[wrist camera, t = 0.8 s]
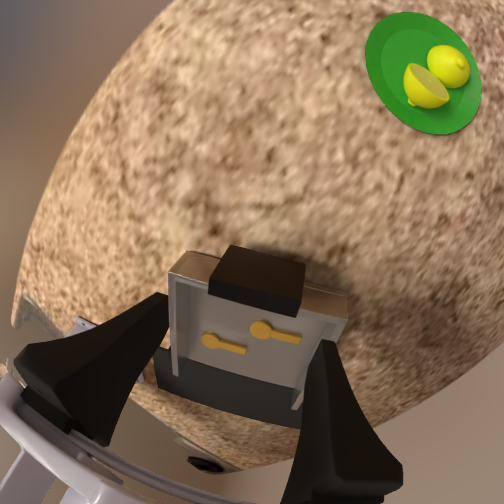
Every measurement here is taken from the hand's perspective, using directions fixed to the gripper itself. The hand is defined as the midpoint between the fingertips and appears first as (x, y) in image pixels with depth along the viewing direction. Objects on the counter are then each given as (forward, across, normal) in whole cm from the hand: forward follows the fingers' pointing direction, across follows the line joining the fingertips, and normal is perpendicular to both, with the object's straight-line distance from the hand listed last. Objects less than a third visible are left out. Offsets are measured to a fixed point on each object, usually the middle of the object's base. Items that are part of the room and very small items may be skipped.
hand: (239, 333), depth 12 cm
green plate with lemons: (+8, -7, -14) cm, 18 cm away
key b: (+7, -2, +6) cm, 10 cm away
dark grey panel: (+8, 0, +19) cm, 21 cm away
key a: (+7, +2, +10) cm, 12 cm away
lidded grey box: (+8, 0, +6) cm, 10 cm away
